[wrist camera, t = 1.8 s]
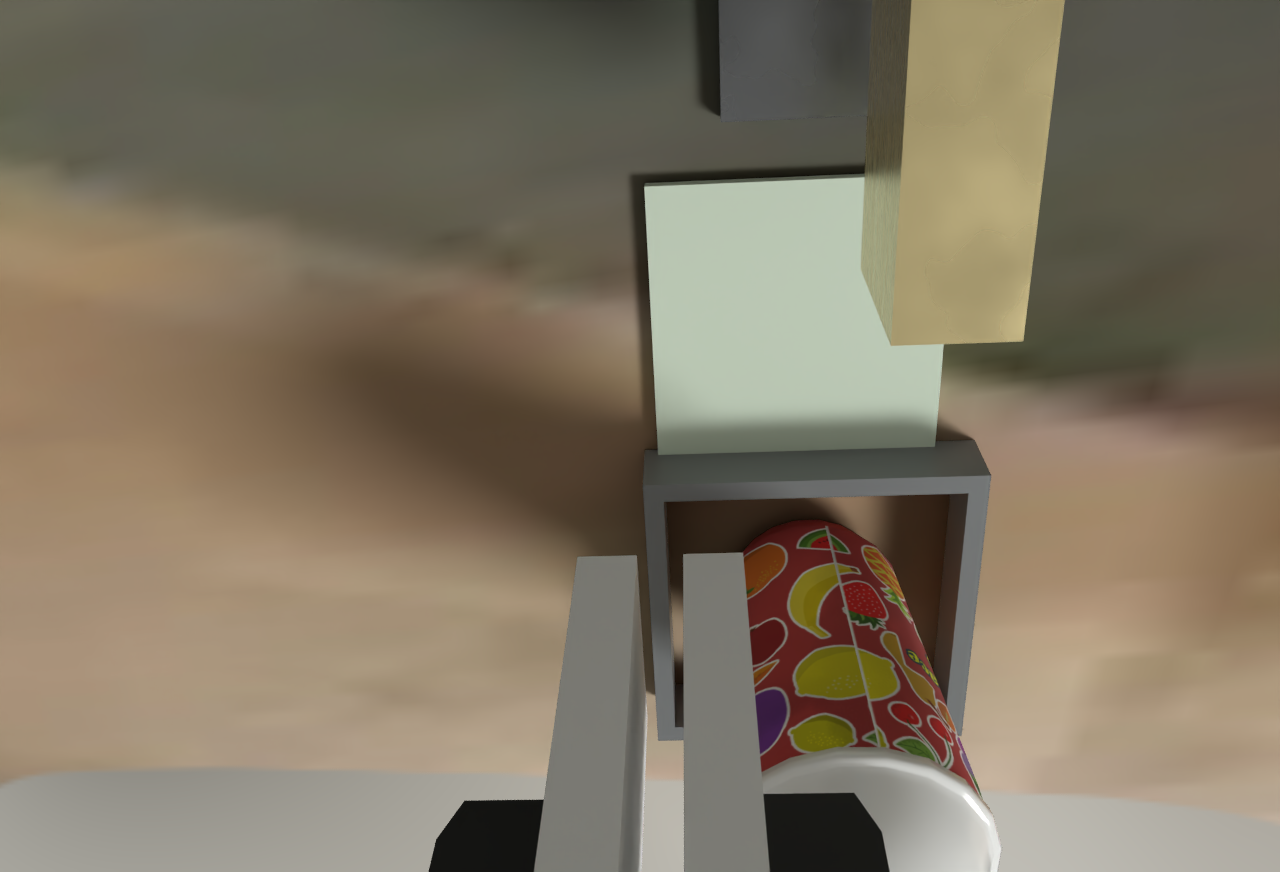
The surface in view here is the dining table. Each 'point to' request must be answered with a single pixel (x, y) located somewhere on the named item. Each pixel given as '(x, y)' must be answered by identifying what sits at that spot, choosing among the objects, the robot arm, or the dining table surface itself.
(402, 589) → the dining table surface
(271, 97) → the dining table surface
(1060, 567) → the dining table surface
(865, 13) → the lock plate
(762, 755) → the smoothie
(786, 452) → the socket
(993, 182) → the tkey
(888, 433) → the mat
